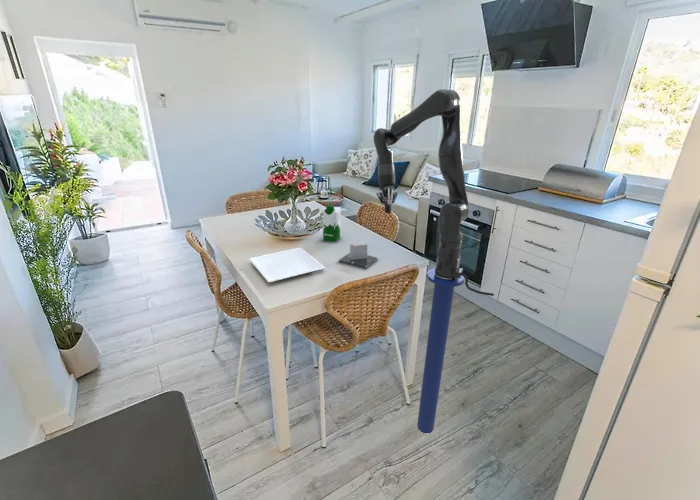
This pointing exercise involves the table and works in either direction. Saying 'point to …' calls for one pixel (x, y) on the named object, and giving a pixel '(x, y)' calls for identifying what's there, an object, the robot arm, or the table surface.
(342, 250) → the table surface
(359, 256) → the grey rectangular block
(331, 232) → the milk carton
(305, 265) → the plate
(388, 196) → the robot arm
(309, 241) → the table surface
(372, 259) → the panel
